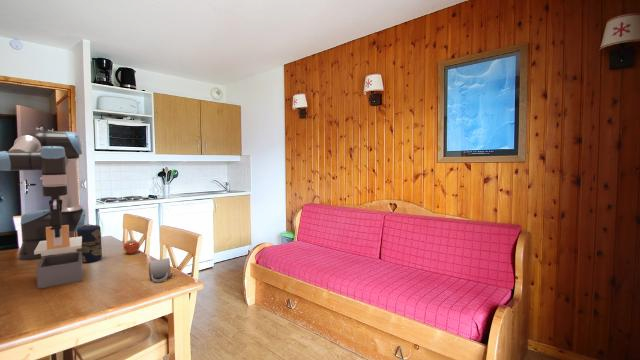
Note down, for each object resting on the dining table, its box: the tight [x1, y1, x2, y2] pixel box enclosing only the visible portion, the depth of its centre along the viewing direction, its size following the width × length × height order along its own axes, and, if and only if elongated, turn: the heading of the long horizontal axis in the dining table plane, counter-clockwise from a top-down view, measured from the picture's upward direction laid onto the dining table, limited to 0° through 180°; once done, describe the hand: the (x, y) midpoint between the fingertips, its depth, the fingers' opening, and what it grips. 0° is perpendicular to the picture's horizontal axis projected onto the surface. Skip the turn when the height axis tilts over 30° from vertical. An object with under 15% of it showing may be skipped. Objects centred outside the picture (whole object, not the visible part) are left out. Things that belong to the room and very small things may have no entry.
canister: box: [76, 223, 103, 263], centre depth 160 cm, size 10×10×18 cm
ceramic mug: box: [147, 257, 172, 284], centre depth 136 cm, size 11×8×8 cm
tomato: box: [123, 237, 140, 255], centre depth 172 cm, size 7×7×8 cm
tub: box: [35, 251, 84, 289], centre depth 137 cm, size 18×14×8 cm
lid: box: [34, 225, 82, 256], centre depth 136 cm, size 19×15×11 cm
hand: (58, 244), depth 130 cm, fingers closed on lid, 2 cm apart
